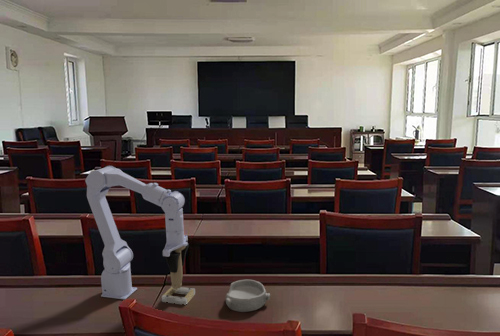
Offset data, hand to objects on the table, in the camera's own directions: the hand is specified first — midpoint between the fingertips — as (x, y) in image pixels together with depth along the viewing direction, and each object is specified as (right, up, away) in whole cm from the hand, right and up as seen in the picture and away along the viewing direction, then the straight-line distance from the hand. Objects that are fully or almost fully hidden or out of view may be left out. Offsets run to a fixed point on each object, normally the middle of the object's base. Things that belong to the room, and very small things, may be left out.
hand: (177, 268), depth 136 cm
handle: (0, -6, +1) cm, 7 cm away
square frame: (0, -10, +2) cm, 10 cm away
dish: (+23, -11, -2) cm, 26 cm away
